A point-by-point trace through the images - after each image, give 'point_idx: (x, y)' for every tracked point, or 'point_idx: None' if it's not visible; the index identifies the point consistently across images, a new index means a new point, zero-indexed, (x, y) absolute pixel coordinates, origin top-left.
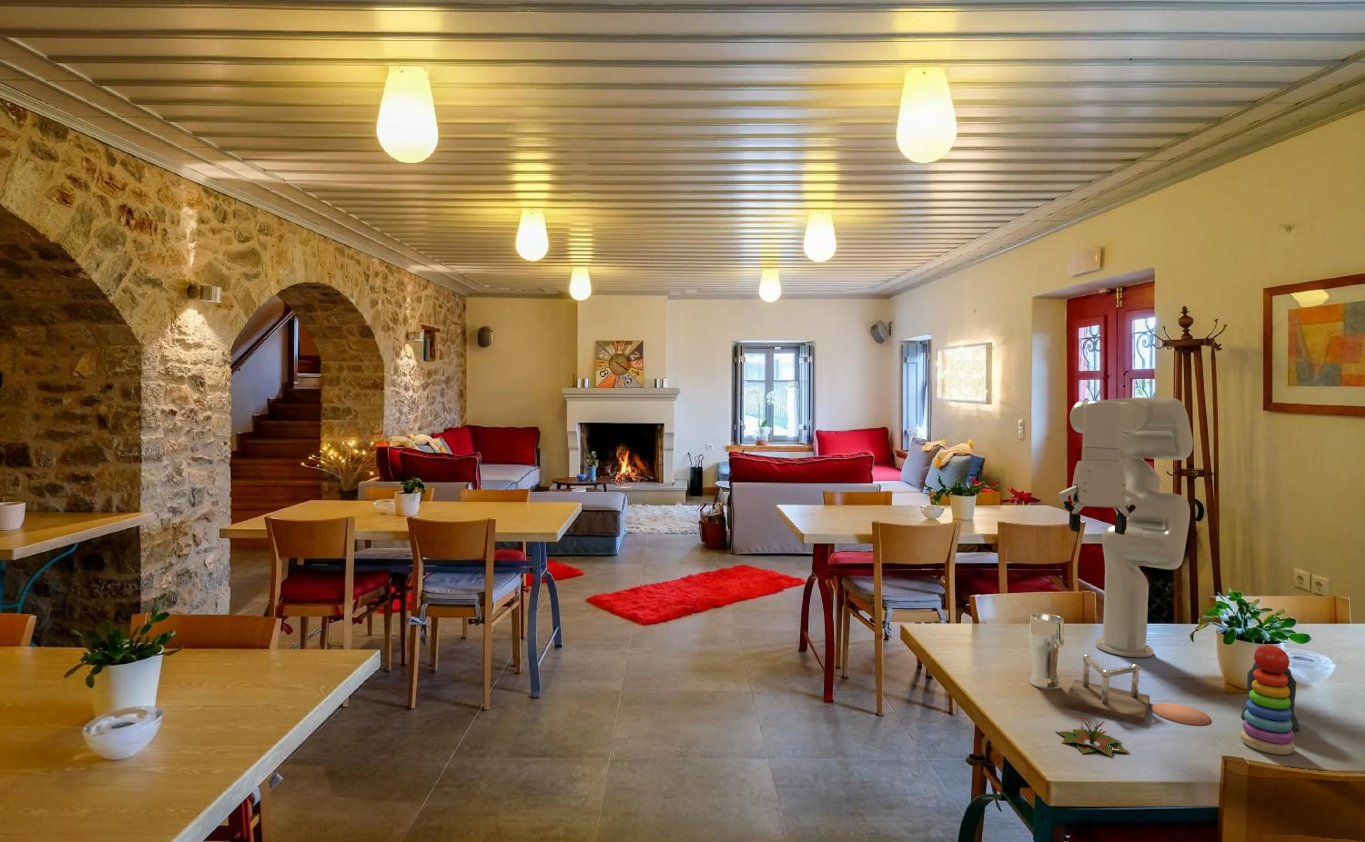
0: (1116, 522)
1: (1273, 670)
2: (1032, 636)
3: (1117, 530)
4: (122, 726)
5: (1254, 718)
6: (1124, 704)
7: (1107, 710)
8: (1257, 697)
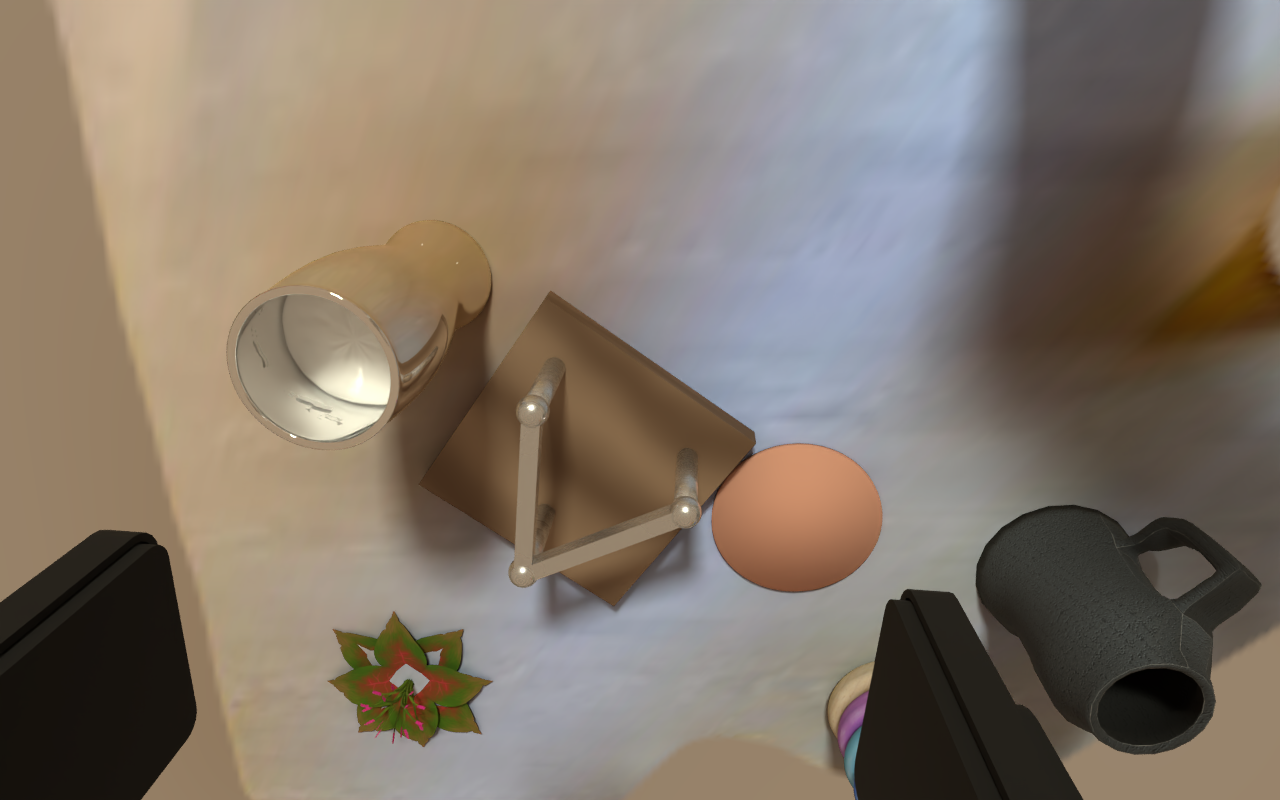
0: (932, 792)
1: None
2: (281, 352)
3: (880, 713)
4: None
5: (849, 778)
6: (610, 517)
7: None
8: None
